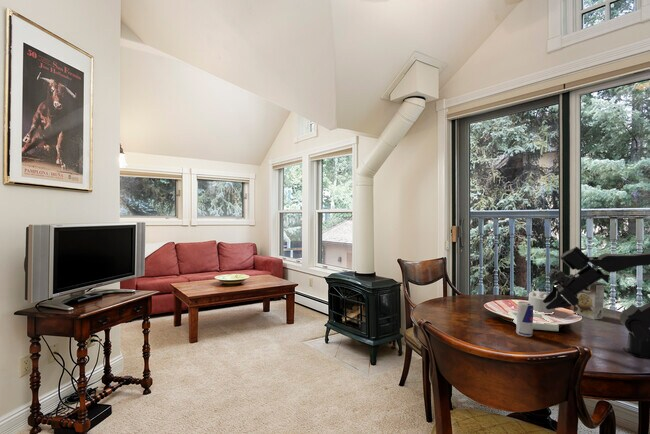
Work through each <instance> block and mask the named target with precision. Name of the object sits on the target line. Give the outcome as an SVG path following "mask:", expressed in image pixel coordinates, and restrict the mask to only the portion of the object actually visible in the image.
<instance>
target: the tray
mask: <svg viewBox="0 0 650 434" xmlns="http://www.w3.org/2000/svg"><path fill="white" fill-rule="evenodd" d="M508 314H509V315H511V316H512V317H513V318H514V320H513V321H512V322H513V323H514V324H515V326H517V317H516V316H515V315H517V311H508ZM508 314H507V315H508ZM533 317H542V318H544V319H545V320H547V321H549V322H555V321H554V320H552V319H551V318H549V317H548V315H544V314H538V313H534V312H533ZM559 326H560V325H559V323H557V324H544V323H536V322H533V330H541V331H542V330H543V331H551V332H559Z"/></svg>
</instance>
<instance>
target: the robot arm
mask: <svg viewBox="0 0 650 434" xmlns="http://www.w3.org/2000/svg"><path fill="white" fill-rule="evenodd" d="M559 259H561V261H562V262H563V263H565V265H567V266H568V267H569V268H570V269H571V270H573V271H574V270H576V271H578V272H576V273H575V274H572V273H571V274H569V275H567V274H566V273H565V272H564V271H563V270H557V269H555V268H551V269H550V271H549V273H548V274H547V277H548V278H550V279H552V280H554V281H552V283H551V291H549V293H548V295H547V296H546V298H545V299H544V300H543V302H544V303H548V302H550V303H549V304H548V305H547V306H546V309H548V310H549V309H555V310H556V309H558V308H567V307H568V308H569V307H572V306H573V307H574V306H575V305H577V304H579V299H578V298H577V297H578V296H577V294H579V293H581V292H582V291H584V290H586V291H587V290H588V287H590V286H591V285H593V284H594V283H596V282H600V280H601V279H602V280H603V281H605V283H610V276H611V275H610V274H609V273H616V272H620V271H624V270H627V269H631V268H634V267H641V266H643V267H644V266H649V265H650V252H642V253H632V254H624V253H623V254H622V253H602V254H600V255H598V256H587V255H586V254H585V253H584V252H583V251H582V250H581V249H580V248H579V247H578V246H574V248H570V249H569V250H567V251H565V252H564V253H563V254H561V255H560V256H559ZM589 263H590V264H591V265H590V264H589ZM593 266H594V267H593ZM599 268H600V269H599ZM602 270H604V271H605V272H607V273H604V272H603V271H602ZM621 312H622V313H621V314H620V315H619V322H620V324H622V325H623V326H624V328H625V329H626V330H627V331H628V335H627V347H622V350H624V351H625V352H626V353H628V352H629V353H628V354H630V353H631V354H630V355H631V356H633V355H634V356H633V357H635V356H640V357H639V358H643V357H650V301H649V302H647V303H646V304H644V305H642V306H636V305H635V304H633V303H632V304H631V305H630V306H628V308H626V309H623V310H621Z"/></svg>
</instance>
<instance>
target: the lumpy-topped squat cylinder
mask: <svg viewBox="0 0 650 434" xmlns="http://www.w3.org/2000/svg"><path fill="white" fill-rule="evenodd" d="M548 294H549V293H548V292H546V291H538V290H534V291H530V292H528V303H531V304H533V310H535V311H538V312H544V313H552V312H555V313H556V311H555V310H556V308H555V309H549V310H548V309H546V306H547V305H548V304H549V303H550V302H548V303H544V302H543V300H544V299H545V298H546V296H547V295H548Z"/></svg>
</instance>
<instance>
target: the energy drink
mask: <svg viewBox="0 0 650 434" xmlns="http://www.w3.org/2000/svg"><path fill="white" fill-rule="evenodd" d="M516 305H517V306H516V307H517V308H516V312H517V325H515V326H516V327H515V328H516V329H515V332H516V334H517V335H518V336H520V337H525V338H529V337H532V336H533V331H534V329H533V313H534V312H533V304H531V303H529V302H528V301H527V302H526V301H518V302H517V304H516Z"/></svg>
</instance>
